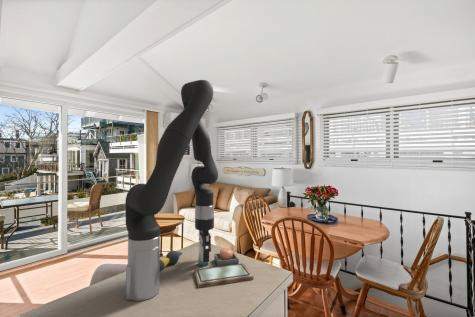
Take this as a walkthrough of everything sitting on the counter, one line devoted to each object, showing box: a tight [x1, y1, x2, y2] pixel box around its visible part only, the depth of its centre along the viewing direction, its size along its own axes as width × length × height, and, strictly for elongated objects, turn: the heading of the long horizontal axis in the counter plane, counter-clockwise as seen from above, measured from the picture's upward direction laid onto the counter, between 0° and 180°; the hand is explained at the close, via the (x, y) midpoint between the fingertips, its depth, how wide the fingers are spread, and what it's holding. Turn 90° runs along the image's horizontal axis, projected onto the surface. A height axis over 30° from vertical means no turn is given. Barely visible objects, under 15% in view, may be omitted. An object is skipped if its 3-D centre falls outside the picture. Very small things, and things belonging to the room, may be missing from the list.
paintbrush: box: [160, 250, 183, 272], centre depth 88 cm, size 20×5×5 cm, turn 157°
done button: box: [219, 248, 234, 260], centre depth 94 cm, size 5×5×3 cm
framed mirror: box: [193, 263, 255, 289], centre depth 83 cm, size 19×11×1 cm, turn 108°
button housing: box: [213, 251, 240, 267], centre depth 94 cm, size 8×8×2 cm
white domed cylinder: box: [198, 243, 210, 268], centre depth 92 cm, size 4×4×8 cm
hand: (204, 257), depth 92 cm, fingers open, 8 cm apart
